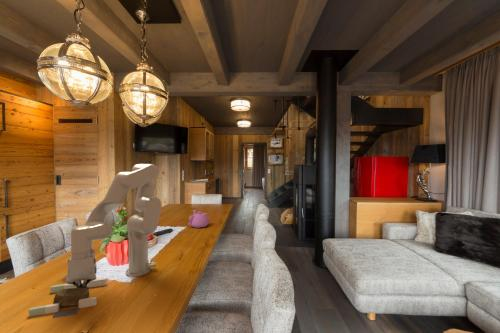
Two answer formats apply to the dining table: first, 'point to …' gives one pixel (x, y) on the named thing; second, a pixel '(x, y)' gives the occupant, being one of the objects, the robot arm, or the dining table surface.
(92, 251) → the robot arm
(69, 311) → the mat
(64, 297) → the stone block
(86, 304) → the set of beige bars
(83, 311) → the dining table surface
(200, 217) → the teapot
